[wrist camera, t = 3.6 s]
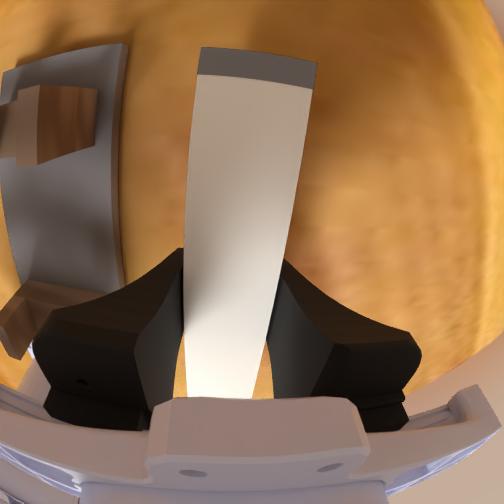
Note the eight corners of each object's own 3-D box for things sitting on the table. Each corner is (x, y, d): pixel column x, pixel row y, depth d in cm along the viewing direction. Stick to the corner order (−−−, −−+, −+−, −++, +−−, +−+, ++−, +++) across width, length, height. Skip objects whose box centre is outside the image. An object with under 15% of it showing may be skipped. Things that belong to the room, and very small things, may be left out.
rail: (242, 368, 17) (245, 422, 13) (194, 365, 16) (189, 419, 13) (288, 80, 10) (317, 63, 6) (211, 71, 9) (201, 46, 6)
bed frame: (135, 344, 19) (115, 408, 14) (43, 325, 18) (14, 375, 13) (129, 46, 10) (73, 15, 5) (12, 72, 9) (-52, 75, 4)
